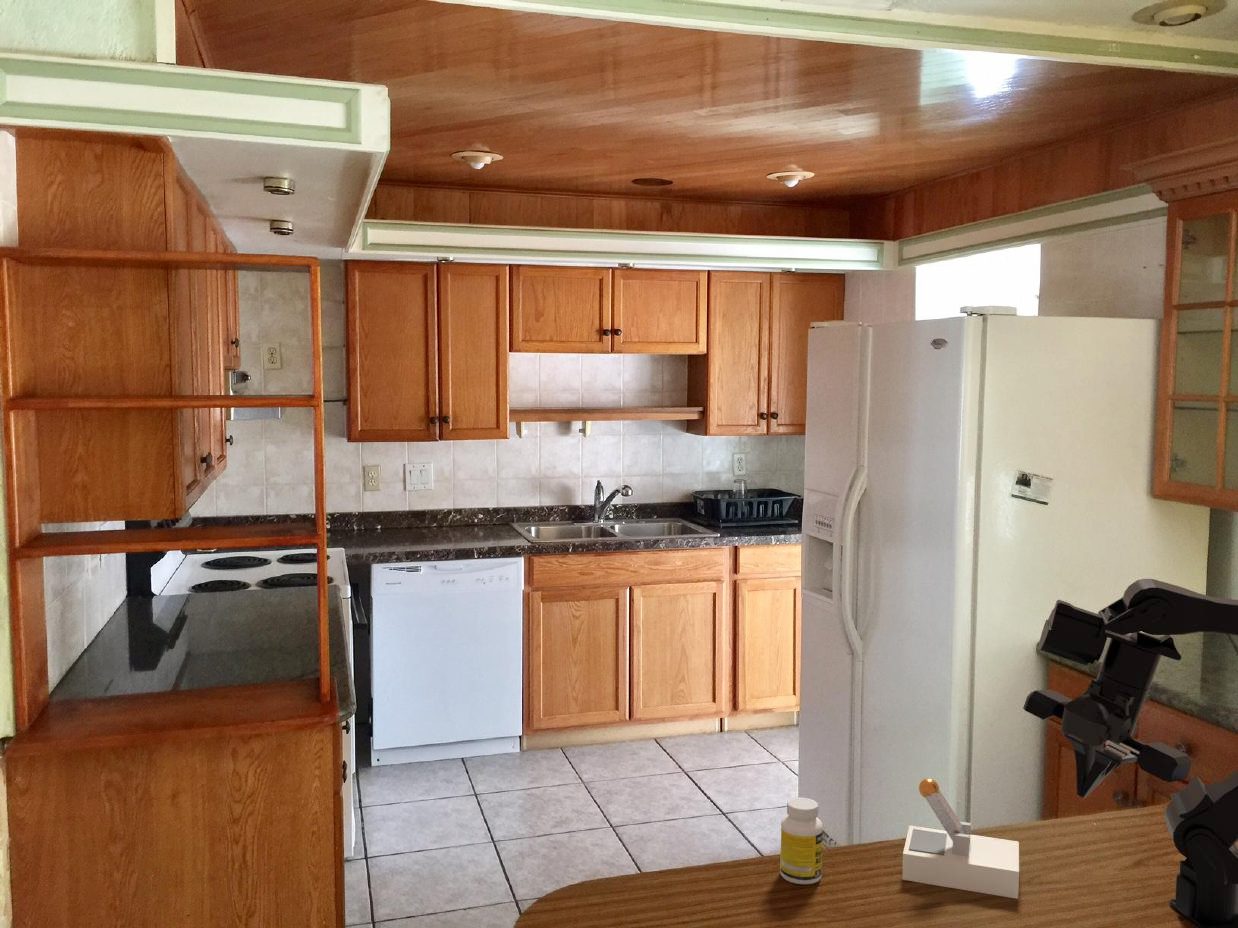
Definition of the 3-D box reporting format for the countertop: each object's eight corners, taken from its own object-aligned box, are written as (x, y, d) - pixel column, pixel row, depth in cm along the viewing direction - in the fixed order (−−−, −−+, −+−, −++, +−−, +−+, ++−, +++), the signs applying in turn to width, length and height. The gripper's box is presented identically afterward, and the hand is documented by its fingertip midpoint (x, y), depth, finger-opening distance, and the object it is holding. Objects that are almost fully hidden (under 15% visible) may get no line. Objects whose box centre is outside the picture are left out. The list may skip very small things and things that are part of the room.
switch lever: (973, 835, 136) (932, 772, 137) (972, 844, 133) (931, 779, 134) (956, 843, 136) (915, 780, 138) (955, 852, 134) (914, 787, 135)
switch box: (1017, 866, 137) (1019, 823, 136) (1018, 898, 129) (1019, 852, 128) (908, 849, 142) (909, 807, 141) (902, 879, 134) (903, 834, 133)
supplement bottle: (822, 887, 131) (823, 813, 131) (779, 883, 133) (780, 809, 132) (822, 867, 137) (823, 796, 136) (781, 864, 138) (781, 793, 137)
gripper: (1022, 648, 127) (982, 763, 129) (1175, 718, 113) (1127, 846, 115) (1064, 648, 134) (1025, 757, 137) (1212, 713, 121) (1167, 834, 123)
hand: (1081, 796), depth 128 cm, fingers closed
